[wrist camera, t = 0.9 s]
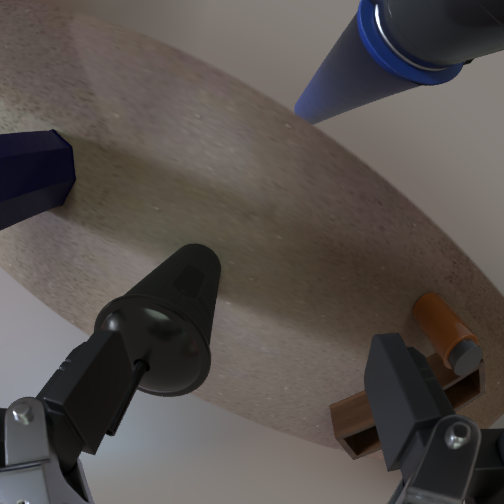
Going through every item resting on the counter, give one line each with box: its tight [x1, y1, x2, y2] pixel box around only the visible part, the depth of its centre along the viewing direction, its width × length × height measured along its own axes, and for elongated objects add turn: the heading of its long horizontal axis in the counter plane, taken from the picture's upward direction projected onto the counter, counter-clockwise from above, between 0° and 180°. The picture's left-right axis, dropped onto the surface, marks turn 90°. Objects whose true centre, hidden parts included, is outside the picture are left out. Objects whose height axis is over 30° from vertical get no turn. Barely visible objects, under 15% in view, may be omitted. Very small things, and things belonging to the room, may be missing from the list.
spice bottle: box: [413, 293, 482, 376], centre depth 26 cm, size 4×4×10 cm
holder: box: [330, 352, 485, 460], centre depth 32 cm, size 7×20×6 cm, turn 121°
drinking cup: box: [94, 244, 221, 436], centre depth 21 cm, size 8×8×20 cm
